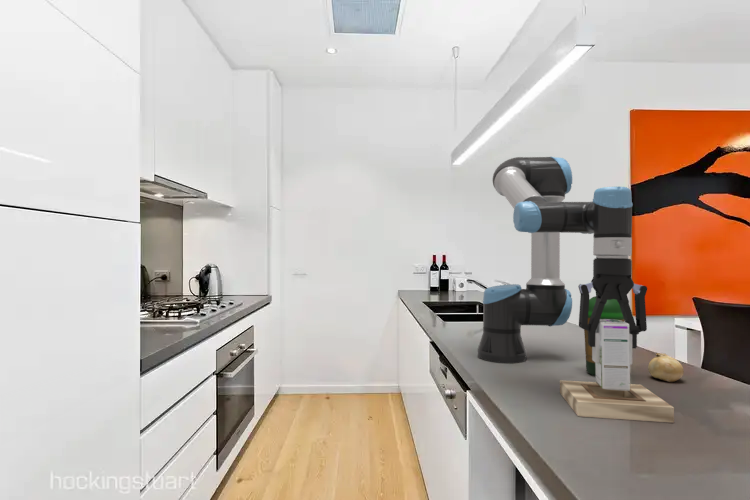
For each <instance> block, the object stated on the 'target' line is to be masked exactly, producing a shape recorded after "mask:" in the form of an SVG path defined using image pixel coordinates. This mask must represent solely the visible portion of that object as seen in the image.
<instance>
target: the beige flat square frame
mask: <svg viewBox="0 0 750 500" xmlns="http://www.w3.org/2000/svg"><path fill="white" fill-rule="evenodd" d="M559 394H560V395H561V397H563V399H564V400H565V401H566V402H567V404H568V405H569V407H570V408H571V409H572V410H573V412H574V414H576V415H577V417H583V418H598V419H599V418H600V419H611V420H614V419H615V420H627V421H628V420H630V421H640V422H641V421H644V422H658V423H659V422H660V423H673V424H674V423H675V407H674V406H673V405H671V404H669V403H668V402H667V401H665V400H664V399H662V398H661V397H659V396H658V395H656V394H655V393H653V392H652V391H651V390H649V389H647V387H646V386H643V385H642V384H639V383H638V384H634V383H633V384H632V383H630V391H622V390H608V389H602V388H601V387H600V386H599V385H598V384H597V383H596V382H595V381H581V380H579V381H578V380H563V379H562V380H561V379H560V380H559Z"/></svg>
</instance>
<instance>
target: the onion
mask: <svg viewBox="0 0 750 500" xmlns="http://www.w3.org/2000/svg"><path fill="white" fill-rule="evenodd" d="M647 366H648V367H647V368H648V372H649V374H650V375H651V376H652V377H653V378H655V379H659V380H661V381H665V382H668V383H673V382H676V381H677V382H678V381H679V380H681V378H682V377H683V376H684V373H685V372H684V371H685V370H684V367H683V365H682V363H680V362H679V360H677V359H676V358H674V357H672V356H669V355H668V354H666V353H660V352H656V353H655V356H654V357H653V358H652V359H651V360H650V361H649V363H648V365H647Z"/></svg>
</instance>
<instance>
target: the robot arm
mask: <svg viewBox="0 0 750 500" xmlns="http://www.w3.org/2000/svg"><path fill="white" fill-rule="evenodd" d="M572 184H573V172H572V169H571V165H570V163H569V162H568V161H567V160H566V159H565V158H563V157H555V156H537V157H536V156H527V157H526V156H525V157H524V156H517V157H511V158H509V159H507V160H505V161H503V162H502V163H500V165H498V166H497V167H496V168H495V170H494V173H493V175H492V185H493V188H494V189H495V191H496V192H497V194H499V195H500V196H503V197H505V199H506V200H507V202H508V203H509V205H511V206H512V209H513V212H512V213H513V215H512V218H513V219H512V220H513V224H514V228H515V230H516V231H517V232H519V233H528V234H531V235H530V237H531V239H530V241H531V242H530V243H531V247H530V248H531V251H530V253H531V254H530V255H531V256H530V261H531V262H530V265H531V266H530V267H531V269H530V270H531V271H530V273H531V274H530V279H529V280H528V281H526V285H525V286H526V287H525V288H522V286H521V285H520V284H516V283H515V284H514V283H513V284H502V285H494V286H489V287H487V288H485V290H484V291H483V300H482V304H483V310H482V311H483V313H482V315H483V316H482V317H483V321H482V324H483V325H482V328H483V329H482V330H483V332H482V334H481V338H480V340H479V345H478V348H477V353H476V354H477V358H479V359H481V360H484V361H488V362H494V363H502V364H503V363H504V364H505V363H507V364H511V363H512V364H513V363H522V362H525V361H526V360H527V351H526V348H525V343H524V341H523V337H522V335H521V334H522V333H521V326H543V327H544V326H545V327H546V326H547V327H554V326H555V327H556V326H563V325H565V324H566V323H567V322H568V320H569V319H570V317H571V313H572V309H573V298H572V293H571V291H570V290H569V289H568V288H566V286H565V285H566V284H565V282H564V281H563V280H562V279H561V278H560V276H561V275H560V274H561V273H560V270H561V269H560V267H561V266H560V265H561V260H560V259H561V258H560V256H561V255H560V254H561V253H560V251H561V249H560V248H561V245H560V244H561V241H560V239H561V238H560V237H561V235H560V234H561V233H570V234H571V233H572V234H573V233H575V234H576V233H578V234H579V233H580V234H585V235H586V234H588V235H591V234H593V247H592V248H593V251H592V252H593V256H595V258H594V259H593V260H592V261H593V263H592V265H593V267H592V271H593V273H592V279H591V280H590V282H588V283H584V284H583V283H579V284H578V290H579V293H580V301H579V313H578V327H579V328H580V329H583V330H584V329H585V330H587V332H588V345H589V346H590V347H592V360H593V361H594V362H595V363H600V333H598V332H596V329H597V326H598V323H599V320H600V317H601V314H602V311H603V309H604V306H605V304H606V302H607V300H611V299H616V300H617V301H618V303H619V305H620V308H621V311H622V314H623V317H624V322H626V323H628V324H629V344H630V366H632V365H633V349H635V350H636V348H637V347H638V342H637V341H638V335H639V334H640V333H641V332H646V331H647V329H648V327H647V326H648V325H647V313H646V312H647V311H646V310H647V309H646V294H647V292H648V287H647V286H646V285H642V284H638V283H635V282H634V281H633V279H632V273H633V269H632V268H633V267H632V265H633V264H632V263H633V262H632V259H631V258H629V257H630V256H632V251H633V248H632V242H633V241H632V240H633V239H632V237H633V236H632V231H633V230H632V228H633V205H634V204H633V202H632V199H633V197H632V190H631V189H630V188H629V187H627V186H604V187H600V188H599V187H598V188H596V189H595V190H594V192H593V198H592V201H564V200H565V198H566V195H567V194H569V193H570V191H571V189H572ZM592 289H594V291H595V293H596V292H597V297H596V303H595V306H594V309H593V311H592V314H591V317H590V320H589V323H588V311H589V299H590V293H591V292H592ZM631 291H633V292H632V293H633V294H634V311H635V319H634V315H633V312H632V310H631V306H630V300H629V297H628V294H629V293H630V292H631Z"/></svg>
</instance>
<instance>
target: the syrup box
mask: <svg viewBox="0 0 750 500" xmlns="http://www.w3.org/2000/svg"><path fill="white" fill-rule="evenodd" d="M596 332H598V333H600V363H595V376H594V377H595V379H594V382H596V383H597V384H598V385H599V386H600V387H601V388H602V389H608V390H622V391H630V384H631V365H630V344H629V324H628V323H626V322H625V321H624V322H623V321H621V320H614V319H600V320H599V323H598V326H597V329H596Z"/></svg>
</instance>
